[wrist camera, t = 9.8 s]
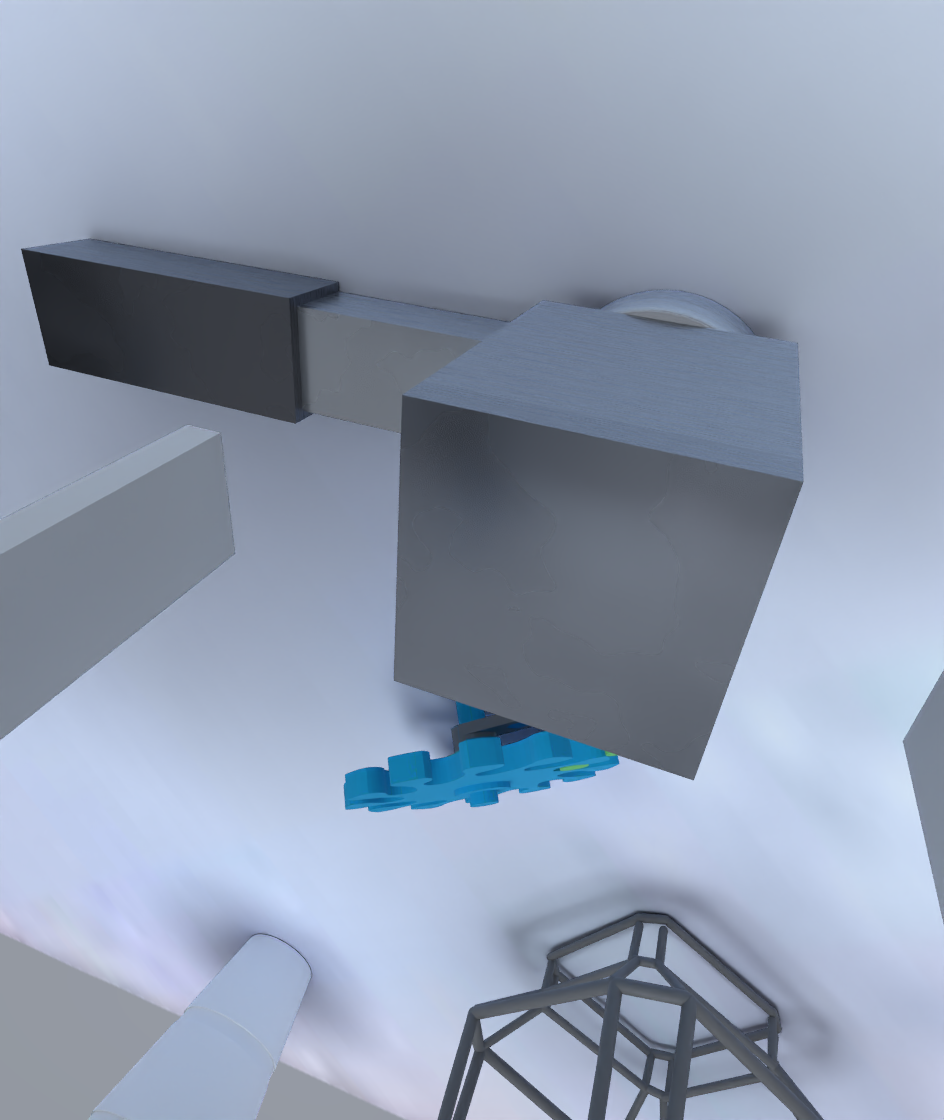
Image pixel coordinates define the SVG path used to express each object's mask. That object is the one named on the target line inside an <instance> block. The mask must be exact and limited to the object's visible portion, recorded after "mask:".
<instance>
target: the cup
mask: <svg viewBox="0 0 944 1120" xmlns="http://www.w3.org/2000/svg"><path fill="white" fill-rule="evenodd" d="M310 979H311V970H310V967H309V965H308V963H307V962H306V961H305V959H304V958H303V957H302V956H301V955H300V954H299V953H298V952H297V951H296V950H295V949H293V948H292V947H291V946H289V945H288V944H286V943H285V942H283V941H281V940H279V939H277V938H275V937H272V936H269V935H264V934H257V935H254V936H252V937H251V938H250V939H249V940H248V941H247V942H246V943H245V945H244V946H243V947H242V948H241V949H240V950H239V951H238V952H237V953H236V954H235V956H234V957H233V958H232V959H231V960H230V961H229V962H228V963H227V964H226V965H225V967H224V968H223V969H222V970H221V971H220V972H219V973H218V974H217V975H216V976H215V978H214V979H213V980H212V981H211V982H210V983H209V984H208V985H207V986H206V988H205V989H204V990H203V991H202V992H201V993H200V994H199V995H198V996H197V997H196V999H195V1000H194V1001H193V1002H192V1003H191V1004H190V1005H189V1006H188V1007H187V1008H186V1010H185V1012H184V1014H183V1015H182V1016H181V1017H180V1019H179V1020H177V1021H175V1022H174V1023H173V1024H172V1025H171V1026H170V1028H169V1029H168V1030H167V1031H166V1032H165V1033H164V1034H163V1035H162V1036H161V1037H160V1038H159V1039H158V1041H157V1042H156V1043H155V1044H154V1045H153V1046H152V1047H151V1048H150V1049H149V1050H148V1052H147V1053H146V1054H145V1055H144V1056H143V1057H142V1058H141V1059H140V1060H139V1061H138V1062H137V1063H136V1064H135V1066H134V1067H133V1068H132V1069H131V1070H130V1071H129V1072H128V1073H127V1074H126V1075H125V1077H124V1078H123V1079H122V1080H121V1081H120V1082H119V1083H118V1084H117V1085H116V1086H115V1087H114V1088H113V1090H112V1091H111V1092H110V1093H109V1094H108V1095H107V1096H106V1097H105V1098H104V1100H102V1101H101V1103H100V1104H99V1105H98V1106H97V1107H96V1108H95V1109H94V1110H93V1111H92V1113H91V1117H90V1118H89V1119H88V1120H256V1117H257V1114H258V1112H259V1109H260V1107H261V1104H262V1101H263V1098H264V1096H265V1093H266V1091H267V1088H268V1082H269V1080H270V1077H271V1074H272V1073H273V1072H274V1071H275V1068H276V1066H277V1063H278V1061H279V1058H280V1056H281V1053H282V1050H283V1048H284V1045H285V1043H286V1040H287V1038H288V1035H289V1032H290V1030H291V1027H292V1025H293V1022H294V1020H295V1017H296V1015H297V1012H298V1009H299V1007H300V1004H301V1002H302V999H303V997H304V994H305V991H306V989H307V986H308V984H309V981H310Z"/></svg>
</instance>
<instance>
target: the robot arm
mask: <svg viewBox="0 0 944 1120" xmlns="http://www.w3.org/2000/svg"><path fill="white" fill-rule="evenodd" d="M234 554H235V548H234V540H233V531H232V523H231V515H230V506H229V498H228V489H227V481H226V473H225V464H224V456H223V447H222V439H221V432H216V431H212V430H208V429H203V428H199V427H195V426H191V425H186V426H184V427H182V428H180V429H178V430H176V431H174V432H172V433H170V434H168V435H166V436H164V437H162V438H160V439H158V440H156V441H154V442H152V443H150V444H148V445H146V446H144V447H142V448H140V449H138V450H136V451H134V452H132V453H130V454H129V455H127V456H125V457H123V458H121V459H119V460H117V461H115V462H113V463H111V464H109V465H107V466H105V467H103V468H101V469H99V470H97V471H95V472H93V473H91V474H89V475H87V476H85V477H83V478H81V479H79V480H77V481H75V482H73V483H71V484H69V485H67V486H65V487H64V488H62V489H60V490H58V491H56V492H54V493H52V494H50V495H48V496H46V497H44V498H42V499H40V500H38V501H36V502H34V503H32V504H30V505H28V506H26V507H24V508H22V509H20V510H18V511H16V512H14V513H12V514H10V515H8V516H6V517H4V518H2V519H1V520H0V740H1V739H2V738H4V737H5V736H6V735H7V734H9V733H10V732H11V731H13V730H14V729H15V728H16V727H18V726H19V725H20V724H21V723H23V722H24V721H25V720H26V719H28V718H29V717H30V716H31V715H33V714H34V713H35V712H36V711H38V710H39V709H40V708H41V707H43V706H44V705H45V704H46V703H48V702H49V701H50V700H51V699H53V698H54V697H55V696H56V695H58V694H59V693H60V692H62V691H63V690H64V689H65V688H67V687H68V686H69V685H70V684H72V683H73V682H74V681H75V680H77V679H78V678H79V677H80V676H82V675H83V674H84V673H85V672H87V671H88V670H89V669H90V668H92V667H93V666H94V665H95V664H97V663H98V662H99V661H100V660H102V659H103V658H104V657H106V656H107V655H108V654H109V653H111V652H112V651H113V650H114V649H116V648H117V647H118V646H119V645H121V644H122V643H123V642H124V641H126V640H127V639H128V638H129V637H131V636H132V635H133V634H134V633H136V632H137V631H138V630H139V629H141V628H142V627H143V626H144V625H146V624H147V623H148V622H150V621H151V620H152V619H153V618H155V617H156V616H157V615H158V614H160V613H161V612H162V611H163V610H165V609H166V608H167V607H168V606H170V605H171V604H172V603H173V602H175V601H176V600H177V599H178V598H180V597H181V596H182V595H183V594H185V593H186V592H187V591H188V590H190V589H191V588H192V587H194V586H195V585H196V584H197V583H199V582H200V581H201V580H202V579H204V578H205V577H206V576H207V575H209V574H210V573H211V572H212V571H214V570H215V569H216V568H217V567H219V566H220V565H221V564H222V563H224V562H225V561H226V560H227V559H229V558H230V557H231V556H232V555H234ZM903 743H904V748H905V752H906V757H907V761H908V766H909V770H910V775H911V779H912V784H913V788H914V793H915V797H916V802H917V806H918V811H919V815H920V820H921V824H922V829H923V833H924V838H925V842H926V847H927V851H928V856H929V860H930V865H931V869H932V874H933V878H934V883H935V887H936V892H937V896H938V901H939V905H940V910H941V914H942V919H943V923H944V671H943V672H942V674H941V676H940V677H939V679H938V681H937V683H936V684H935V686H934V688H933V690H932V691H931V693H930V695H929V697H928V698H927V700H926V702H925V704H924V705H923V707H922V709H921V710H920V712H919V714H918V716H917V717H916V719H915V721H914V723H913V724H912V726H911V728H910V730H909V731H908V733H907V735H906V737H905V738H904V740H903Z"/></svg>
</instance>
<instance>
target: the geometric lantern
mask: <svg viewBox="0 0 944 1120" xmlns="http://www.w3.org/2000/svg"><path fill="white" fill-rule="evenodd" d="M642 922H643V923H658V924H666V926H667V927H668V928H670V929H671V930H672V931H673V932H674V933H675V934H677V935H678V936H679V937H680V938H681V939H682V940H683V941H685V942H686V943H687V944H688V945H689V946H690V947H692V948H693V949H694V950H695V951H696V952H697V953H698V954H700V955H701V956H702V957H703V958H704V959H705V960H706V961H708V962H709V963H710V964H711V965H712V966H713V967H715V968H716V969H717V970H718V971H719V972H720V973H721V974H723V975H724V976H725V977H726V978H727V979H728V980H729V981H731V982H732V983H733V984H734V985H735V986H736V987H738V988H739V989H740V990H741V991H742V992H743V993H744V994H746V995H747V996H748V997H749V998H750V999H751V1000H752V1001H754V1002H755V1003H756V1004H757V1005H758V1006H759V1007H761V1008H762V1009H763V1010H764V1011H765V1012H766V1013H767V1014H769V1015H770V1016H769V1017H768V1028H765V1029H761V1030H758V1031H754V1032H750V1033H747V1034H744V1033H743V1032H741V1031H740V1030H739V1029H738V1028H737V1027H736V1026H734V1025H733V1024H732V1023H731V1022H730V1021H729V1020H727V1019H726V1018H725V1017H724V1016H723V1015H722V1014H720V1013H719V1012H718V1011H717V1010H716V1009H715V1008H714V1007H712V1006H711V1005H710V1004H709V1003H708V1002H707V1001H705V1000H704V999H703V998H702V997H701V996H700V995H698V994H697V993H696V992H695V991H694V990H693V989H692V988H690V987H689V986H688V985H687V984H686V983H685V982H683V981H682V980H681V979H680V978H679V977H678V976H676V975H675V974H674V973H673V972H672V971H671V970H670V969H668V968H667V967H666V966H665V965H664V960H665V951H666V942H667V933H668V930H667V928H666V927H665V926H661V927H660V928H659V934H658V942H657V950H656V958H655V959H654V958H648V957H642V956H638V951H639V946H640V941H641V936H642V931H643V923H642ZM634 925H635V927H634V932H633V937H632V942H631V946H630V951H629V956H628V960H625V961H622V962H619V963H616V964H613V965H611V966H608V967H605V968H602V969H599V970H596V971H593V972H591V973H588V974H585V975H582V976H579V977H576V978H573V979H571V980H569V979H568V978H567V977H566V976H565V975H563V974H562V973H561V972H560V971H559V968H558V965H557V962H556V960H555V959H558V958H560V957H562V956H565V955H567V954H569V953H572V952H574V951H576V950H579V949H581V948H583V947H585V946H588V945H590V944H592V943H595V942H597V941H599V940H602V939H604V938H606V937H609V936H611V935H613V934H615V933H618V932H620V931H622V930H625V929H627V928H629V927H632V926H634ZM547 959H548V964H547V968H546V972H545V976H544V980H543V984H542V988H541V989H539V990H535V991H531V992H526V993H522V994H518V995H514V996H510V997H506V998H502V999H498V1000H493V1001H489V1002H485V1003H481V1004H477V1005H475V1006H474V1007H472V1008H470V1010H469V1012H468V1015H467V1019H466V1023H465V1026H464V1030H463V1033H462V1036H461V1040H460V1043H459V1047H458V1050H457V1054H456V1057H455V1060H454V1064H453V1067H452V1071H451V1074H450V1078H449V1081H448V1084H447V1088H446V1091H445V1095H444V1099H443V1102H442V1106H441V1109H440V1113H439V1116H438V1120H451V1118H452V1115H453V1111H454V1107H455V1104H456V1100H457V1096H458V1093H459V1089H460V1085H461V1081H462V1078H463V1074H464V1070H465V1067H466V1063H467V1059H468V1056H469V1052H470V1048H471V1045H472V1044H473V1047H474V1054H473V1057H472V1061H471V1064H470V1067H469V1070H468V1073H467V1076H466V1079H465V1083H464V1086H463V1089H462V1092H461V1095H460V1098H459V1101H458V1105H457V1108H456V1111H455V1114H454V1117H453V1120H465V1119H466V1116H467V1113H468V1109H469V1106H470V1103H471V1099H472V1096H473V1093H474V1090H475V1086H476V1083H477V1080H478V1076H479V1073H480V1070H481V1067H482V1063H483V1060H485V1061H486V1062H487V1063H488V1064H490V1065H491V1066H492V1067H493V1068H494V1069H495V1070H497V1071H498V1072H499V1073H500V1074H501V1075H502V1076H503V1077H505V1078H506V1079H507V1080H508V1081H509V1082H510V1083H512V1084H513V1085H514V1086H515V1087H516V1088H517V1089H518V1090H520V1091H521V1092H522V1093H523V1094H524V1095H525V1096H527V1097H528V1098H529V1099H530V1100H531V1101H532V1102H533V1103H535V1104H536V1105H537V1106H538V1107H539V1108H540V1109H542V1110H543V1111H544V1112H545V1113H546V1114H547V1115H548V1116H550V1117H551V1118H552V1119H553V1120H572V1119H570V1118H569V1117H568V1116H567V1115H566V1114H565V1113H563V1112H562V1111H561V1110H560V1109H559V1108H558V1107H557V1106H555V1105H554V1104H553V1103H552V1102H551V1101H550V1100H549V1099H547V1098H546V1097H545V1096H544V1095H543V1094H542V1093H541V1092H539V1091H538V1090H537V1089H536V1088H535V1087H534V1086H532V1085H531V1084H530V1083H529V1082H528V1081H527V1080H526V1079H524V1078H523V1077H522V1076H521V1075H520V1074H519V1073H518V1072H516V1071H515V1070H514V1069H513V1068H512V1067H511V1066H509V1065H508V1064H507V1063H506V1062H505V1061H504V1060H503V1059H501V1058H500V1057H499V1056H498V1055H497V1054H496V1053H495V1052H493V1051H492V1050H491V1049H490V1048H489V1047H491V1046H492V1045H494V1044H495V1043H497V1042H498V1041H500V1040H501V1039H503V1038H504V1037H506V1036H507V1035H509V1034H510V1033H512V1032H513V1031H515V1030H516V1029H518V1028H519V1027H521V1026H522V1025H524V1024H525V1023H527V1022H528V1021H530V1020H531V1019H533V1018H534V1017H535V1016H537V1015H538V1014H540V1013H541V1012H543V1013H545V1014H546V1015H547V1016H548V1017H550V1018H551V1019H552V1020H553V1021H555V1022H556V1023H557V1024H559V1025H560V1026H561V1027H562V1028H564V1029H565V1030H566V1031H567V1032H569V1033H570V1034H571V1035H572V1036H574V1037H575V1038H576V1039H577V1040H579V1041H580V1042H581V1043H583V1044H584V1045H585V1046H586V1047H588V1048H589V1049H590V1050H591V1051H593V1052H594V1053H595V1054H596V1055H598V1059H597V1066H596V1072H595V1078H594V1084H593V1091H592V1097H591V1103H590V1109H589V1115H588V1120H605V1113H606V1107H607V1100H608V1093H609V1086H610V1080H611V1073H612V1067H613V1068H614V1069H615V1070H617V1071H618V1072H619V1073H620V1074H622V1075H623V1076H624V1077H626V1078H627V1079H628V1080H629V1081H631V1082H632V1083H633V1084H634V1085H636V1086H637V1087H638V1088H639V1089H641V1090H640V1092H639V1094H638V1096H637V1097H636V1099H635V1101H634V1103H633V1105H632V1107H631V1109H630V1111H629V1113H628V1115H627V1117H626V1119H625V1120H635V1118H636V1116H637V1114H638V1112H639V1110H640V1108H641V1106H642V1104H643V1103H644V1101H645V1099H646V1097H647V1095H648V1094H650V1095H652V1096H654V1097H657V1098H659V1099H660V1120H683V1117H684V1109H685V1101H686V1098H689V1097H693V1096H698V1095H703V1094H707V1093H712V1092H717V1091H721V1090H726V1089H731V1088H735V1087H740V1086H745V1085H749V1084H754V1083H759V1082H762V1083H763V1084H764V1085H765V1086H766V1087H767V1088H768V1089H769V1090H770V1091H771V1092H772V1093H773V1094H774V1095H775V1096H776V1097H777V1098H778V1099H779V1100H780V1101H781V1102H782V1103H783V1104H784V1105H785V1106H786V1107H787V1108H788V1109H789V1110H790V1111H791V1112H792V1113H793V1114H794V1116H795V1117H796V1119H797V1120H824V1119H823V1118H822V1117H821V1116H820V1114H819V1113H818V1112H817V1111H816V1109H815V1108H814V1107H813V1106H812V1104H811V1103H810V1102H809V1101H808V1099H807V1098H806V1097H805V1096H804V1094H803V1093H802V1092H801V1091H800V1089H799V1088H798V1087H797V1086H796V1084H795V1083H794V1082H793V1081H792V1079H791V1078H790V1077H789V1076H788V1075H787V1073H786V1072H785V1071H784V1070H783V1068H782V1067H781V1066H780V1065H779V1062H778V1061H777V1051H778V1038H779V1037H778V1033H780V1032H781V1030H782V1028H781V1024H780V1021H779V1017H778V1013H777V1010H776V1009H775V1008H774V1007H772V1006H771V1005H770V1004H768V1003H767V1002H766V1001H765V1000H764V999H763V998H762V997H760V996H759V995H758V994H757V993H756V992H755V991H754V990H752V989H751V988H750V987H749V986H748V985H747V984H745V983H744V982H743V981H742V980H741V979H740V978H739V977H737V976H736V975H735V974H734V973H733V972H732V971H731V970H729V969H728V968H727V967H726V966H725V965H724V964H723V963H721V962H720V961H719V960H718V959H717V958H716V957H714V956H713V955H712V954H711V953H710V952H709V951H708V950H706V949H705V948H704V947H703V946H702V945H701V944H700V943H698V942H697V941H696V940H695V939H694V938H693V937H691V936H690V935H689V934H688V933H687V932H686V931H685V930H683V929H682V928H681V927H680V926H679V925H678V924H677V923H675V922H674V921H673V920H672V919H670V918H669V916H667V915H658V914H642V913H637V914H635V915H634V916H632V917H629V918H627V919H625V920H623V921H620V922H618V923H616V924H614V925H611V926H609V927H607V928H605V929H602V930H600V931H598V932H596V933H593V934H591V935H589V936H587V937H584V938H582V939H580V940H578V941H575V942H573V943H571V944H569V945H566V946H564V947H562V948H560V949H557V950H555V951H553V952H551V953H549V954H548V955H547ZM639 966H643V967H649V968H654V969H656V970H657V971H658V972H659V973H660V974H661V975H662V976H663V977H664V979H665V980H666V981H667V982H668V983H669V984H670V986H671V987H668V986H663V985H658V984H652V983H647V982H642V981H637V980H631V979H626V977H627V976H628V975H629V974H630V973H631V972H633V971H634V970H635V969H636V968H637V967H639ZM609 976H610V977H609ZM606 977H609V978H606ZM603 978H605V979H603ZM558 981H560V982H561V983H559V984H558ZM622 994H625V995H631V996H636V997H641V998H645V999H650V1000H655V1001H660V1002H665V1003H670V1004H675V1005H679V1006H681V1015H680V1022H679V1029H678V1037H677V1044H676V1051H675V1053H669V1052H665V1051H660V1050H656V1049H652V1048H649V1047H648V1046H647V1045H646V1044H644V1043H643V1042H642V1041H641V1040H640V1039H639V1038H637V1037H636V1036H635V1035H634V1034H633V1033H632V1032H630V1031H629V1030H628V1029H627V1028H626V1027H624V1026H623V1025H622V1024H621V1023H620V1022H619V1021H618V1020H619V1012H620V1005H621V997H622ZM602 995H607V999H606V1005H605V1009H603V1008H602V1007H601V1006H600V1005H599V1004H597V1003H596V1002H595V1001H594V1000H593V999H592V997H597V996H602ZM576 1000H582V1001H583V1002H584V1003H586V1004H587V1005H588V1006H589V1007H590V1008H592V1009H593V1010H594V1011H595V1012H596V1013H597V1014H599V1015H600V1016H601V1017H602V1018H603V1026H602V1032H601V1039H600V1046H598V1045H597V1044H596V1043H594V1042H593V1041H592V1040H591V1039H589V1038H588V1037H587V1036H585V1035H584V1034H583V1033H582V1032H580V1031H579V1030H578V1029H577V1028H575V1027H574V1026H573V1025H572V1024H570V1023H569V1022H568V1021H567V1020H565V1019H564V1018H563V1017H562V1016H560V1015H559V1014H558V1013H556V1012H555V1011H554V1010H553V1009H551V1008H550V1007H551V1005H556V1004H561V1003H566V1002H571V1001H576ZM525 1010H529V1011H527V1012H526V1013H524V1014H523V1015H521V1016H520V1017H518V1018H517V1019H515V1020H514V1021H512V1022H511V1023H509V1024H508V1025H506V1026H505V1027H503V1028H502V1029H500V1030H499V1031H497V1032H496V1033H494V1034H493V1035H491V1036H490V1037H488V1038H487V1039H485V1040H484V1041H483V1035H482V1029H481V1023H480V1019H484V1018H489V1017H494V1016H499V1015H504V1014H509V1013H515V1012H520V1011H525ZM696 1019H697V1020H698V1021H699V1022H700V1023H701V1024H702V1025H703V1026H704V1027H705V1028H707V1029H708V1030H709V1031H710V1032H711V1033H712V1034H713V1035H714V1036H715V1037H716V1038H717V1039H718V1040H719V1041H718V1042H714V1043H710V1044H707V1045H703V1046H700V1047H696V1048H692V1045H693V1037H694V1029H695V1021H696ZM617 1031H619V1032H620V1033H621V1034H622V1035H623V1036H624V1037H626V1038H627V1039H628V1040H629V1041H630V1042H631V1043H633V1044H634V1045H635V1046H636V1047H637V1048H639V1049H640V1050H641V1051H642V1052H643V1053H644V1054H646V1055H647V1060H646V1065H645V1069H644V1074H643V1079H642V1080H641V1079H640V1078H638V1077H637V1076H636V1075H635V1074H633V1073H632V1072H631V1071H630V1070H628V1069H627V1068H626V1067H625V1066H623V1065H622V1064H621V1063H620V1062H618V1061H617V1060H616V1059H615V1058H614V1050H615V1043H616V1035H617ZM766 1038H768V1054H767V1053H766V1052H765V1051H763V1050H762V1049H761V1048H760V1047H759V1046H758V1045H756V1044H755V1043H754V1042H755V1041H758V1040H762V1039H766ZM724 1049H728V1050H729V1051H730V1052H731V1053H732V1054H733V1055H734V1056H735V1057H736V1058H737V1059H738V1060H739V1061H740V1062H741V1063H742V1064H743V1065H744V1066H745V1067H746V1068H747V1069H748V1070H749V1071H751V1072H752V1073H751V1074H747V1075H742V1076H738V1077H733V1078H729V1079H725V1080H720V1081H716V1082H711V1083H707V1084H703V1085H698V1086H694V1087H689V1088H687V1085H688V1077H689V1069H690V1061H691V1058H694V1057H698V1056H702V1055H706V1054H709V1053H713V1052H717V1051H721V1050H724ZM756 1056H757V1057H758V1058H759V1059H760V1060H761V1061H762V1062H764V1063H765V1064H766V1065H767V1067H766V1066H765V1065H764V1064H763V1063H762V1062H761V1061H760V1060H759V1059H758V1058H757V1057H756ZM655 1058H657V1059H662V1060H666V1061H669V1064H668V1071H667V1078H666V1086H665V1092H664V1091H662V1090H660V1089H657V1088H655V1087H653V1086H651V1085H649V1084H650V1079H651V1074H652V1069H653V1064H654V1059H655Z"/></svg>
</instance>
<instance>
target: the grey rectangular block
mask: <svg viewBox="0 0 944 1120" xmlns="http://www.w3.org/2000/svg"><path fill="white" fill-rule="evenodd" d="M802 484H803V459H802V435H801V411H800V386H799V362H798V343H795V342H789V341H783V340H777V339H771V338H765V337H759V336H753V335H747V334H741V333H736V332H730V331H724V330H718V329H712V328H706V327H700V326H694V325H688V324H682V323H676V322H670V321H664V320H658V319H652V318H646V317H640V316H634V315H629V314H623V313H617V312H611V311H605V310H599V309H593V308H587V307H581V306H575V305H569V304H563V303H557V302H551V301H545V300H542V301H541V302H539V303H538V304H536V305H535V306H534V307H532V308H531V309H529V310H528V311H526V312H525V313H523V314H522V315H520V316H519V317H517V318H516V319H514V320H513V321H511V322H510V323H508V324H507V325H505V326H504V327H502V328H501V329H499V330H498V331H496V332H495V333H493V334H492V335H490V336H489V337H487V338H486V339H484V340H483V341H481V342H480V343H478V344H477V345H476V346H474V347H473V348H471V349H470V350H468V351H467V352H465V353H464V354H462V355H461V356H459V357H458V358H456V359H455V360H453V361H452V362H450V363H449V364H447V365H446V366H444V367H443V368H441V369H440V370H438V371H437V372H435V373H434V374H432V375H431V376H429V377H428V378H426V379H425V380H423V381H422V382H421V383H419V384H418V385H416V386H415V387H413V388H412V389H410V390H409V391H407V392H406V393H404V394H403V395H402V415H401V450H400V485H399V520H398V555H397V589H396V624H395V659H394V681H397V682H400V683H403V684H406V685H409V686H412V687H415V688H418V689H421V690H424V691H427V692H430V693H433V694H436V695H439V696H442V697H445V698H448V699H451V700H454V701H457V702H460V703H463V704H466V705H469V706H472V707H475V708H478V709H481V710H484V711H487V712H490V713H493V714H496V715H499V716H502V717H505V718H508V719H511V720H514V721H517V722H520V723H523V724H526V725H529V726H532V727H535V728H538V729H541V730H544V731H547V732H550V733H553V734H556V735H559V736H562V737H565V738H568V739H571V740H574V741H577V742H580V743H583V744H586V745H589V746H592V747H595V748H598V749H601V750H604V751H607V752H610V753H613V754H616V755H619V756H622V757H625V758H628V759H631V760H634V761H637V762H640V763H643V764H646V765H649V766H652V767H655V768H658V769H661V770H664V771H667V772H670V773H673V774H676V775H679V776H682V777H685V778H688V779H691V780H694V778H695V775H696V773H697V770H698V767H699V764H700V762H701V759H702V756H703V754H704V751H705V748H706V745H707V743H708V740H709V737H710V734H711V732H712V729H713V726H714V724H715V721H716V718H717V715H718V713H719V710H720V707H721V705H722V702H723V699H724V696H725V694H726V691H727V688H728V686H729V683H730V680H731V677H732V675H733V672H734V669H735V666H736V664H737V661H738V658H739V656H740V653H741V650H742V647H743V645H744V642H745V639H746V637H747V634H748V631H749V628H750V626H751V623H752V620H753V617H754V615H755V612H756V609H757V607H758V604H759V601H760V598H761V596H762V593H763V590H764V588H765V585H766V582H767V579H768V577H769V574H770V571H771V569H772V566H773V563H774V560H775V558H776V555H777V552H778V549H779V547H780V544H781V541H782V539H783V536H784V533H785V530H786V528H787V525H788V522H789V520H790V517H791V514H792V511H793V509H794V506H795V503H796V500H797V498H798V495H799V492H800V490H801V487H802Z"/></svg>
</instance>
